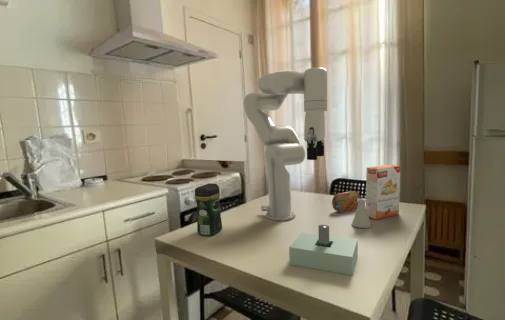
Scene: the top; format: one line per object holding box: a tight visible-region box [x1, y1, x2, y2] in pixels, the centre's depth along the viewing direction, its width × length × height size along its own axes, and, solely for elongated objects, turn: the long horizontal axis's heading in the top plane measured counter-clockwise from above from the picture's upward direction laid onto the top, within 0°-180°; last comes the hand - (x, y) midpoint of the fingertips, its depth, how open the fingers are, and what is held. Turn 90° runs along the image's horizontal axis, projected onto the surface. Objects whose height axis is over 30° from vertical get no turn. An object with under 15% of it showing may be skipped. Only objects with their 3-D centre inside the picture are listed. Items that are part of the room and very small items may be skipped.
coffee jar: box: [194, 182, 223, 237], centre depth 108 cm, size 10×8×19 cm
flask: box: [351, 198, 372, 229], centre depth 108 cm, size 7×7×10 cm
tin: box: [331, 190, 362, 214], centre depth 128 cm, size 15×3×8 cm, turn 114°
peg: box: [317, 224, 330, 247], centre depth 82 cm, size 3×3×10 cm
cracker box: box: [365, 164, 401, 221], centre depth 118 cm, size 14×6×21 cm, turn 117°
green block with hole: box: [288, 232, 359, 276], centre depth 82 cm, size 17×12×5 cm
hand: (315, 157), depth 97 cm, fingers open, 9 cm apart
